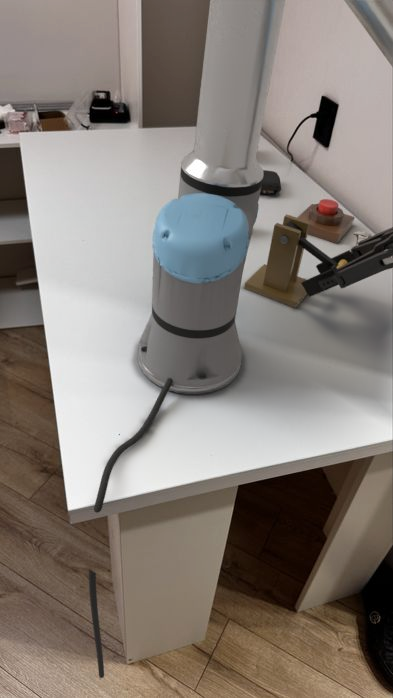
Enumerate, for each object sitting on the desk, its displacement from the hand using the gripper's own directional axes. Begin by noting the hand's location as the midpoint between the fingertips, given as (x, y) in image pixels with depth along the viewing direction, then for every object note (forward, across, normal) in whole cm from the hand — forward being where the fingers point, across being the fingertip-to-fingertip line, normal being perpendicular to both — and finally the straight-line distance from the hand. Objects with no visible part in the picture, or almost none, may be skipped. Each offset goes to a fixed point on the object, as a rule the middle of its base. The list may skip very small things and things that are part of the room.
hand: (313, 280), depth 91 cm
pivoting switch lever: (-2, 0, +4) cm, 5 cm away
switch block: (+8, +28, +3) cm, 29 cm away
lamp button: (+6, +28, +5) cm, 29 cm away
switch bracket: (+7, 0, +1) cm, 7 cm away
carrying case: (+24, +36, +18) cm, 47 cm away
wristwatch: (+2, +21, -4) cm, 22 cm away
